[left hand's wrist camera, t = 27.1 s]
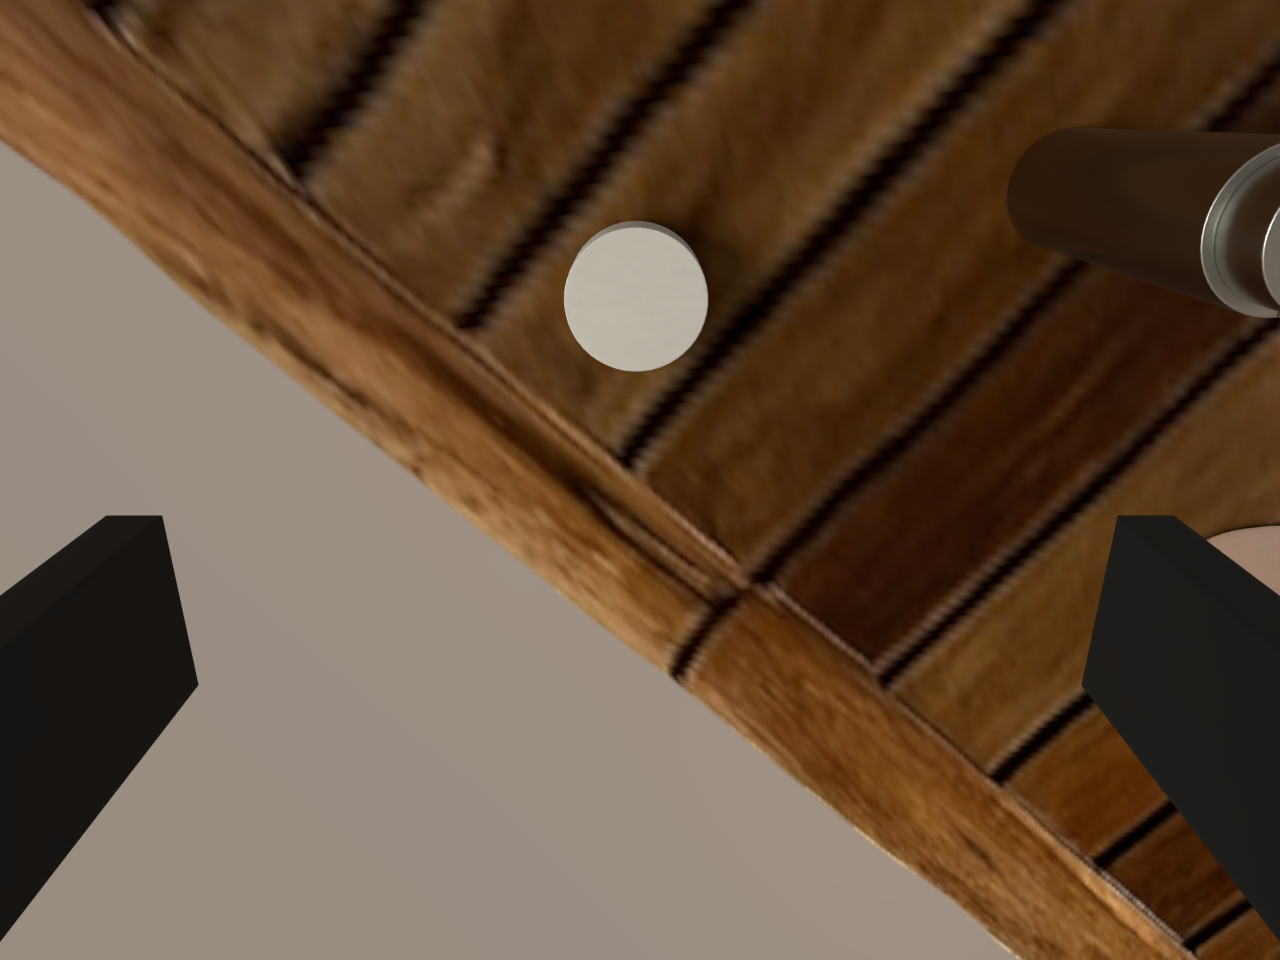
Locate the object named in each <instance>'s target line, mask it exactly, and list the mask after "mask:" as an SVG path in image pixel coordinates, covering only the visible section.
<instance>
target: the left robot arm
mask: <svg viewBox="0 0 1280 960" xmlns="http://www.w3.org/2000/svg"><path fill="white" fill-rule="evenodd" d="M197 686H198V680H197V676H196V671H195V666H194V662H193V657H192V652H191V648H190V643H189V638H188V634H187V629H186V624H185V620H184V615H183V610H182V606H181V601H180V597H179V592H178V587H177V583H176V578H175V573H174V568H173V564H172V559H171V555H170V550H169V545H168V541H167V536H166V531H165V527H164V522H163V517H162V516H105V517H104V518H103V519H101V520H100V521H99V522H97V523H96V524H95V525H93V526H92V527H91V528H89V529H88V530H87V531H85V532H84V533H83V534H81V535H80V536H79V537H77V538H76V539H75V540H73V541H72V542H71V543H69V544H68V545H67V546H65V547H64V548H63V549H61V550H60V551H59V552H57V553H56V554H55V555H53V556H52V557H51V558H50V559H48V560H47V561H45V562H44V563H43V564H41V565H40V566H39V567H38V568H36V569H35V570H34V571H32V572H31V573H30V574H28V575H27V576H26V577H24V578H23V579H22V580H20V581H19V582H18V583H16V584H15V585H14V586H12V587H11V588H10V589H8V590H7V591H6V592H4V593H3V594H2V595H0V941H1V940H2V939H3V937H4V936H5V935H6V933H7V932H8V931H9V930H10V928H11V927H12V926H13V924H14V923H15V922H16V921H17V919H18V918H19V917H20V915H21V914H22V913H23V911H24V910H25V909H26V908H27V906H28V905H29V904H30V902H31V901H32V900H33V899H34V897H35V896H36V895H37V893H38V892H39V891H40V890H41V888H42V887H43V886H44V884H45V883H46V882H47V880H48V879H49V878H50V877H51V875H52V874H53V873H54V871H55V870H56V869H57V868H58V866H59V865H60V864H61V862H62V861H63V860H64V858H65V857H66V856H67V854H68V853H69V852H70V851H71V849H72V848H73V847H74V845H75V844H76V843H77V842H78V840H79V839H80V838H81V836H82V835H83V834H84V833H85V831H86V830H87V829H88V827H89V826H90V825H91V823H92V822H93V821H94V820H95V818H96V817H97V816H98V814H99V813H100V812H101V811H102V809H103V808H104V807H105V805H106V804H107V803H108V801H109V800H110V799H111V797H112V796H113V795H114V794H115V792H116V791H117V790H118V789H119V787H120V786H121V785H122V783H123V782H124V781H125V779H126V778H127V777H128V776H129V774H130V773H131V772H132V770H133V769H134V768H135V766H136V765H137V764H138V763H139V761H140V760H141V759H142V757H143V756H144V755H145V754H146V752H147V751H148V750H149V748H150V747H151V746H152V744H153V743H154V742H155V741H156V739H157V738H158V737H159V735H160V734H161V733H162V732H163V730H164V729H165V728H166V726H167V725H168V724H169V722H170V721H171V720H172V719H173V717H174V716H175V715H176V713H177V712H178V711H179V710H180V708H181V707H182V706H183V704H184V703H185V702H186V700H187V699H188V698H189V697H190V695H191V694H192V693H193V691H194V690H195V689H196V688H197ZM1082 686H1083V688H1084V689H1085V690H1086V691H1087V693H1088V694H1089V695H1090V697H1091V698H1092V699H1093V700H1094V702H1095V703H1096V704H1097V706H1098V707H1099V708H1100V710H1101V711H1102V712H1103V713H1104V715H1105V716H1106V717H1107V719H1108V720H1109V721H1110V722H1111V724H1112V725H1113V726H1114V728H1115V729H1116V730H1117V732H1118V733H1119V734H1120V735H1121V737H1122V738H1123V739H1124V741H1125V742H1126V743H1127V744H1128V746H1129V747H1130V748H1131V750H1132V751H1133V752H1134V754H1135V755H1136V756H1137V757H1138V759H1139V760H1140V761H1141V763H1142V764H1143V765H1144V767H1145V768H1146V769H1147V770H1148V772H1149V773H1150V774H1151V776H1152V777H1153V778H1154V779H1155V781H1156V782H1157V783H1158V785H1159V786H1160V787H1161V789H1162V790H1163V791H1164V792H1165V794H1166V795H1167V796H1168V798H1169V799H1170V800H1171V801H1172V803H1173V804H1174V805H1175V807H1176V808H1177V809H1178V811H1179V812H1180V813H1181V814H1182V816H1183V817H1184V818H1185V820H1186V821H1187V822H1188V823H1189V825H1190V826H1191V827H1192V829H1193V830H1194V831H1195V833H1196V834H1197V835H1198V836H1199V838H1200V839H1201V840H1202V842H1203V843H1204V844H1205V845H1206V847H1207V848H1208V849H1209V851H1210V852H1211V853H1212V855H1213V856H1214V857H1215V858H1216V860H1217V861H1218V862H1219V864H1220V865H1221V866H1222V868H1223V869H1224V870H1225V871H1226V873H1227V874H1228V875H1229V877H1230V878H1231V879H1232V880H1233V882H1234V883H1235V884H1236V886H1237V887H1238V888H1239V890H1240V891H1241V892H1242V893H1243V895H1244V896H1245V897H1246V899H1247V900H1248V901H1249V902H1250V904H1251V905H1252V906H1253V908H1254V909H1255V910H1256V912H1257V913H1258V914H1259V915H1260V917H1261V918H1262V919H1263V921H1264V922H1265V923H1266V924H1267V926H1268V927H1269V928H1270V930H1271V931H1272V932H1273V934H1274V935H1275V936H1276V937H1277V939H1278V940H1279V941H1280V595H1278V594H1277V593H1276V592H1274V591H1273V590H1272V589H1270V588H1269V587H1268V586H1266V585H1265V584H1264V583H1262V582H1261V581H1260V580H1258V579H1257V578H1256V577H1254V576H1253V575H1252V574H1250V573H1249V572H1248V571H1246V570H1245V569H1244V568H1242V567H1241V566H1240V565H1239V564H1237V563H1236V562H1235V561H1233V560H1232V559H1231V558H1229V557H1228V556H1227V555H1225V554H1224V553H1223V552H1221V551H1220V550H1219V549H1217V548H1216V547H1215V546H1213V545H1212V544H1211V543H1209V542H1208V541H1207V540H1205V539H1204V538H1203V537H1201V536H1200V535H1199V534H1197V533H1196V532H1195V531H1193V530H1192V529H1191V528H1189V527H1188V526H1187V525H1185V524H1184V523H1183V522H1181V521H1180V520H1179V519H1177V518H1176V517H1175V516H1118V517H1117V522H1116V527H1115V531H1114V536H1113V541H1112V545H1111V550H1110V555H1109V559H1108V564H1107V568H1106V573H1105V578H1104V582H1103V587H1102V592H1101V596H1100V601H1099V606H1098V610H1097V615H1096V620H1095V624H1094V629H1093V634H1092V638H1091V643H1090V648H1089V652H1088V657H1087V662H1086V666H1085V671H1084V676H1083V680H1082Z"/></svg>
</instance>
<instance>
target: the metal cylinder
mask: <svg viewBox="0 0 1280 960" xmlns="http://www.w3.org/2000/svg"><path fill="white" fill-rule="evenodd" d="M1008 210H1009V214H1010V217H1011V220H1012V222H1013V224H1014V226H1015V227H1016V229H1017V230H1018V231H1019V233H1020V234H1021V235H1022V236H1023V237H1024V238H1026V239H1027V240H1028V241H1030V242H1032V243H1033V244H1036V245H1038V246H1040V247H1043V248H1046V249H1049V250H1052V251H1055V252H1058V253H1062V254H1065V255H1068V256H1071V257H1074V258H1077V259H1080V260H1083V261H1086V262H1089V263H1092V264H1095V265H1098V266H1101V267H1104V268H1107V269H1110V270H1113V271H1116V272H1119V273H1122V274H1125V275H1128V276H1131V277H1134V278H1137V279H1140V280H1143V281H1146V282H1149V283H1152V284H1155V285H1158V286H1161V287H1164V288H1167V289H1170V290H1173V291H1176V292H1179V293H1182V294H1185V295H1188V296H1191V297H1194V298H1197V299H1200V300H1203V301H1206V302H1209V303H1212V304H1215V305H1218V306H1221V307H1224V308H1227V309H1230V310H1233V311H1236V312H1239V313H1242V314H1245V315H1249V316H1253V317H1262V318H1274V317H1280V134H1253V133H1223V132H1193V131H1163V130H1132V129H1102V128H1067V129H1062V130H1059V131H1055V132H1053V133H1051V134H1049V135H1047V136H1045V137H1043V138H1042V139H1040V140H1039V141H1037V142H1036V143H1035V144H1033V145H1032V146H1031V147H1030V148H1029V149H1028V150H1027V151H1026V153H1025V154H1024V155H1023V156H1022V157H1021V159H1020V160H1019V162H1018V164H1017V165H1016V167H1015V169H1014V171H1013V174H1012V176H1011V179H1010V183H1009V187H1008Z"/></svg>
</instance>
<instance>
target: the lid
mask: <svg viewBox="0 0 1280 960" xmlns="http://www.w3.org/2000/svg"><path fill="white" fill-rule="evenodd" d="M564 304H565V312H566V317H567V320H568V323H569V326H570V328H571V331H572V333H573V335H574V336H575V338H576V339H577V341H578V342H579V343H580V345H581V346H582V347H583V348H584V349H585V350H586V351H587V352H588V353H589V354H590V355H591V356H593V357H594V358H595V359H597V360H598V361H600V362H602V363H604V364H606V365H608V366H611V367H613V368H616V369H620V370H625V371H647V370H652V369H656V368H660V367H662V366H665V365H667V364H669V363H671V362H672V361H674V360H676V359H677V358H679V357H680V356H681V355H683V354H684V353H685V352H686V351H687V350H688V349H689V348H690V347H691V345H692V344H693V343H694V342H695V340H696V339H697V337H698V335H699V334H700V332H701V330H702V327H703V325H704V322H705V319H706V315H707V309H708V290H707V284H706V280H705V277H704V274H703V271H702V269H701V266H700V264H699V262H698V259H697V257H696V256H695V254H694V252H693V251H692V249H691V248H690V247H689V245H688V244H687V243H686V242H685V241H684V240H683V239H682V238H681V237H679V236H678V235H677V234H676V233H674V232H673V231H671V230H669V229H667V228H665V227H663V226H660V225H658V224H654V223H650V222H644V221H628V222H622V223H618V224H615V225H612V226H610V227H607V228H605V229H603V230H602V231H600V232H599V233H597V234H596V235H594V236H593V237H592V238H591V239H590V240H589V241H588V242H587V243H586V244H585V245H584V246H583V248H582V249H581V250H580V252H579V253H578V255H577V257H576V259H575V261H574V263H573V265H572V267H571V270H570V272H569V275H568V278H567V282H566V286H565V294H564Z"/></svg>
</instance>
